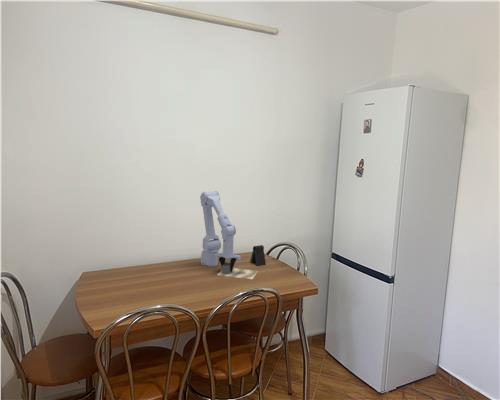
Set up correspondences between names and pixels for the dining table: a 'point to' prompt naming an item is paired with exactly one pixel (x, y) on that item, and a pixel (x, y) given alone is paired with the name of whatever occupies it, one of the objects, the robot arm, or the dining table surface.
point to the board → (240, 273)
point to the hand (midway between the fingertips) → (227, 270)
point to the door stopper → (258, 256)
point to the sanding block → (226, 268)
